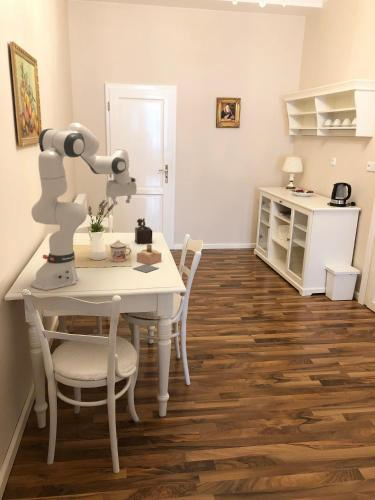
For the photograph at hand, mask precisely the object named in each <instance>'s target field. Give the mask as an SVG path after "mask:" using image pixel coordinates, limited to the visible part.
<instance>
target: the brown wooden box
mask: <svg viewBox="0 0 375 500" xmlns="http://www.w3.org/2000/svg"><path fill="white" fill-rule="evenodd" d="M145 221H146V220H145V218H144V217H143V218H138V219H137V220H136V222H137V227H134V242H135V243H136V244H137V245H148V244H150V245H152V244H153V230H152V228H151V227H150V226H146V222H145Z"/></svg>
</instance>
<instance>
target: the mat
mask: <svg viewBox="0 0 375 500" xmlns="http://www.w3.org/2000/svg"><path fill="white" fill-rule="evenodd" d="M159 268H160V267H157V266H153V265H147V264H142V265H139V266H136V267H133V268H132V270H135V271H138V272H141V273H145V274H147V273H150V272H153V271H156V270H159Z"/></svg>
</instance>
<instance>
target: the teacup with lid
mask: <svg viewBox="0 0 375 500" xmlns="http://www.w3.org/2000/svg"><path fill="white" fill-rule="evenodd" d="M127 249H128V250H129V253H127ZM131 253H132V249H131V248H130V247H129V246H127V244H125V243H124V242H122V241H120V240H119V239H118V240H116V242H113V243H111V244H110V260H112V261H111V262H113V261H114V263H122V261H123V262H125V261H126V260H127V257H129V255H131Z"/></svg>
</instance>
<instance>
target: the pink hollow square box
mask: <svg viewBox="0 0 375 500" xmlns="http://www.w3.org/2000/svg"><path fill="white" fill-rule="evenodd" d="M140 252H141V251H139V252H137V253H136V262H137V263H140V264H141V263H142V264H143V265H145V264H147V265H150V266H152V265H154V264H157V263H160V262H162V252H159V251H158V254H156V255H152V256H146V255H142V254H140Z"/></svg>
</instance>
